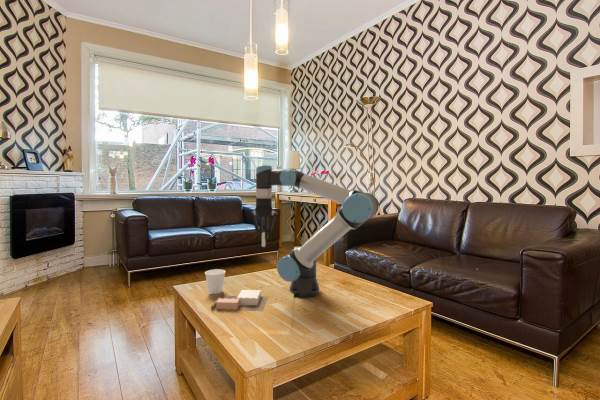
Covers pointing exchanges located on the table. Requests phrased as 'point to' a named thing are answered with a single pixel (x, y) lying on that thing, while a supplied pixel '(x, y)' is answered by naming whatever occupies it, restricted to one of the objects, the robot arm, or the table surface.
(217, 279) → the cup
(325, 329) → the table surface
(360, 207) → the robot arm
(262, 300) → the board
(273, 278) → the table surface
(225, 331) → the table surface
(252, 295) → the cream flat block
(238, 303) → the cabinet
